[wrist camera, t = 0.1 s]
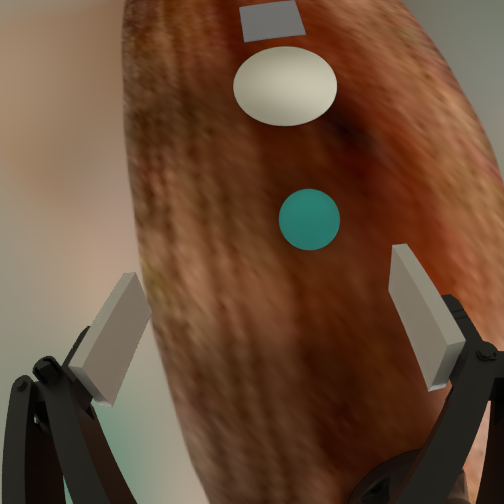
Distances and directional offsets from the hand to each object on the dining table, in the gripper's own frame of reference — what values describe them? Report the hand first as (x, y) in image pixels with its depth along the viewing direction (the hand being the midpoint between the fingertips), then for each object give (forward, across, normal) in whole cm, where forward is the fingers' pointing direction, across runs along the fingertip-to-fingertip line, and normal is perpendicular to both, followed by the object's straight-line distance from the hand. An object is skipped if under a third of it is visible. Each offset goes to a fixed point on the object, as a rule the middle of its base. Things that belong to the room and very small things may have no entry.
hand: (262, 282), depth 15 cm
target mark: (+25, -3, -9) cm, 27 cm away
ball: (+13, -3, +3) cm, 14 cm away
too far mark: (+32, -3, -19) cm, 38 cm away
